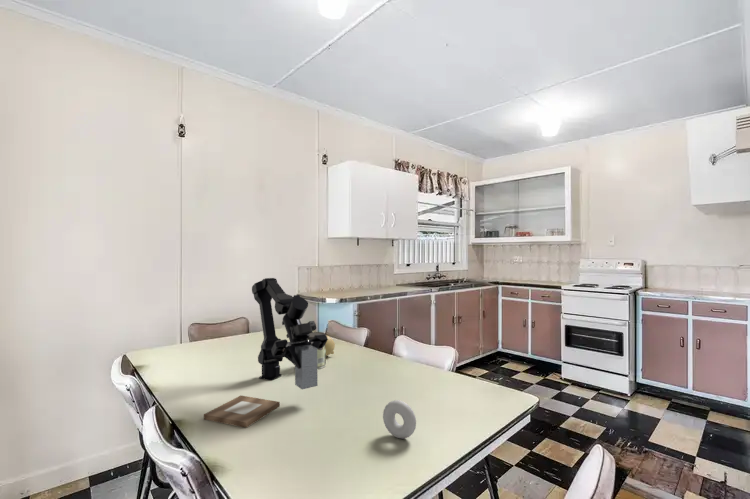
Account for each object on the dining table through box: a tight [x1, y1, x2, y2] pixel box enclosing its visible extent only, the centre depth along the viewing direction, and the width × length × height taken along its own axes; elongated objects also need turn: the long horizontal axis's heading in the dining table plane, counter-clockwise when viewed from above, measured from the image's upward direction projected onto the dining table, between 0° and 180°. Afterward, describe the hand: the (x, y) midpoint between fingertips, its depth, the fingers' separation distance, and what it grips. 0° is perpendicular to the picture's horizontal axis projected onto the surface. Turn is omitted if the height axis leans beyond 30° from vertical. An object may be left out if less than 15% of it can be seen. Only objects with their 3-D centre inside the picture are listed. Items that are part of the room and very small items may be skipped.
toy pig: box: [325, 335, 336, 357], centre depth 183 cm, size 10×12×11 cm
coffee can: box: [307, 331, 327, 370], centre depth 167 cm, size 10×10×14 cm
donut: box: [382, 399, 417, 440], centre depth 102 cm, size 10×4×10 cm, turn 55°
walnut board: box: [203, 395, 281, 429], centre depth 119 cm, size 16×16×2 cm
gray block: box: [294, 345, 318, 390], centre depth 126 cm, size 6×6×12 cm
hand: (307, 366), depth 125 cm, fingers closed on gray block, 5 cm apart
